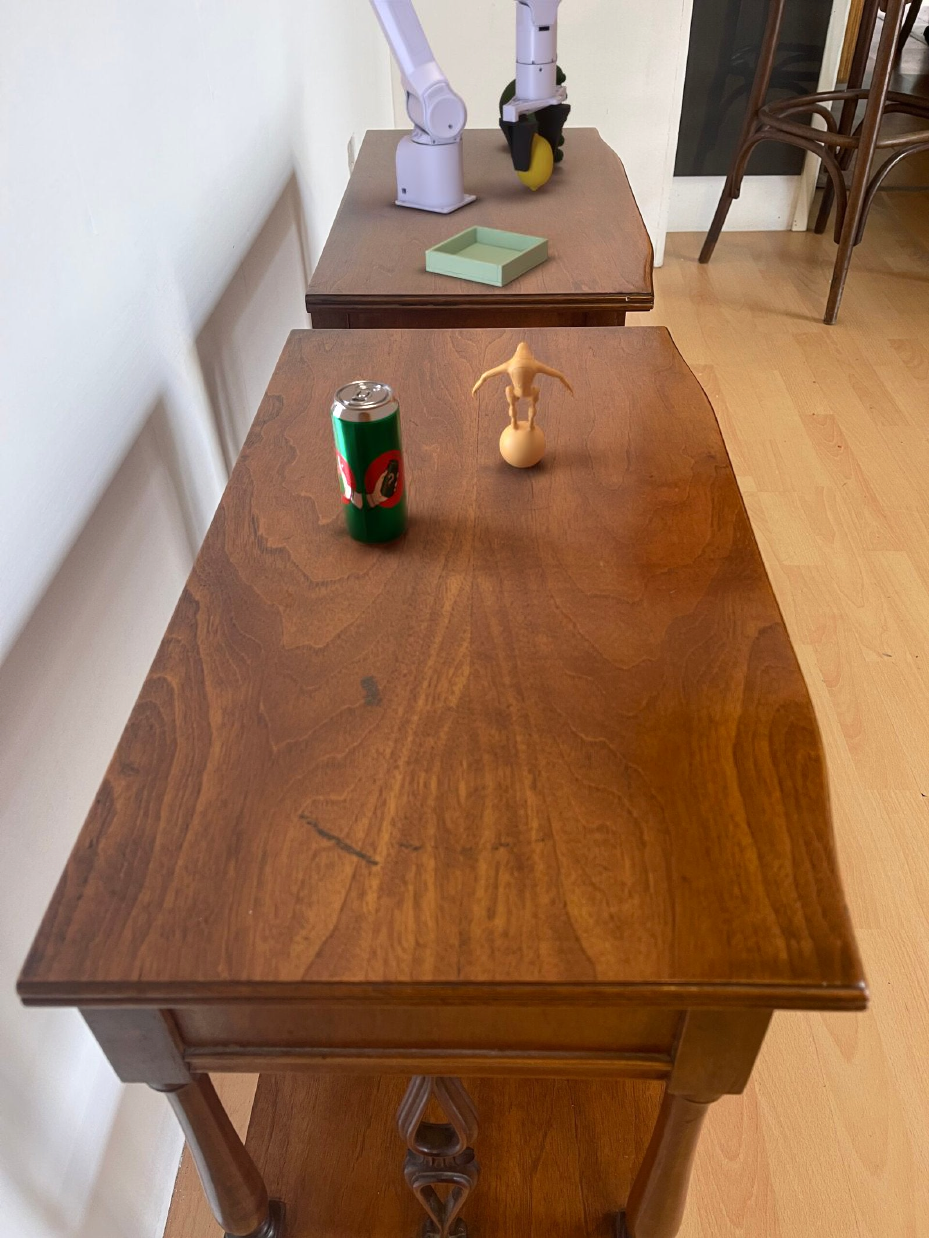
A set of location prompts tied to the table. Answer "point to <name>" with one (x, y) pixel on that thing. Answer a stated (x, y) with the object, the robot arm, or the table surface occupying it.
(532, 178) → the lemon
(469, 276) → the tray
